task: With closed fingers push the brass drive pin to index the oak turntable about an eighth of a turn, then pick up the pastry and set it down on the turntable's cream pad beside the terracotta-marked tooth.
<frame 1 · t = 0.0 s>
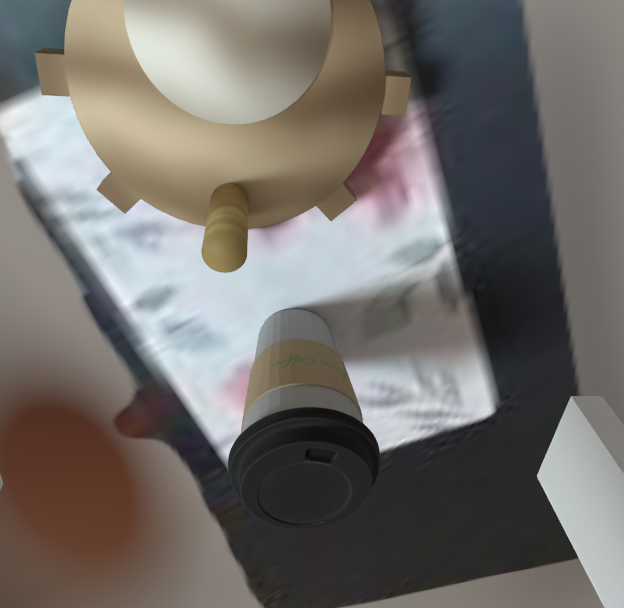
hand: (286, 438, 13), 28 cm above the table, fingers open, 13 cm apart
turntable: (227, 97, 30), point 6 cm above the table, hinge at 0.0°
coffee cup: (293, 337, 46), on the table
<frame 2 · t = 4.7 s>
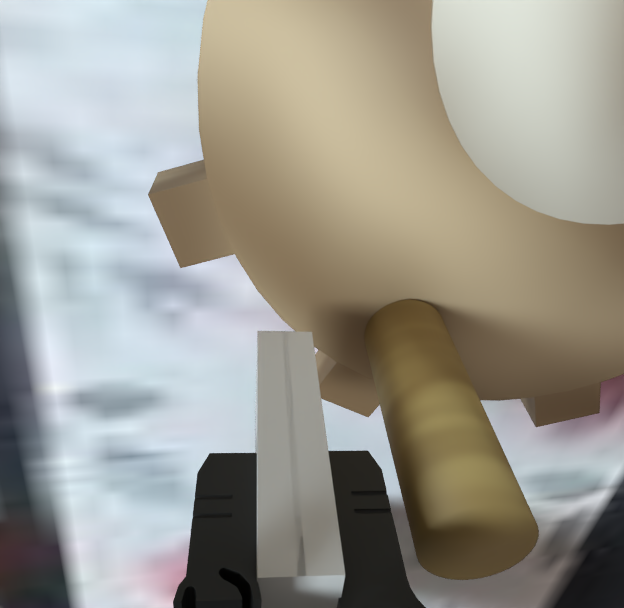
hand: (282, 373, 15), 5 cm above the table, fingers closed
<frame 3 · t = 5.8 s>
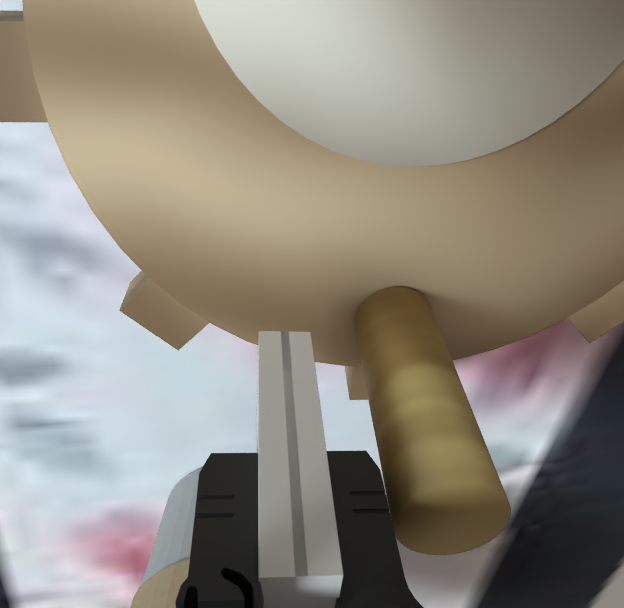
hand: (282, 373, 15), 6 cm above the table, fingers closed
turntable: (450, 110, 11), point 6 cm above the table, hinge at 30.7°, touching gripper
coffee cup: (230, 500, 27), on the table
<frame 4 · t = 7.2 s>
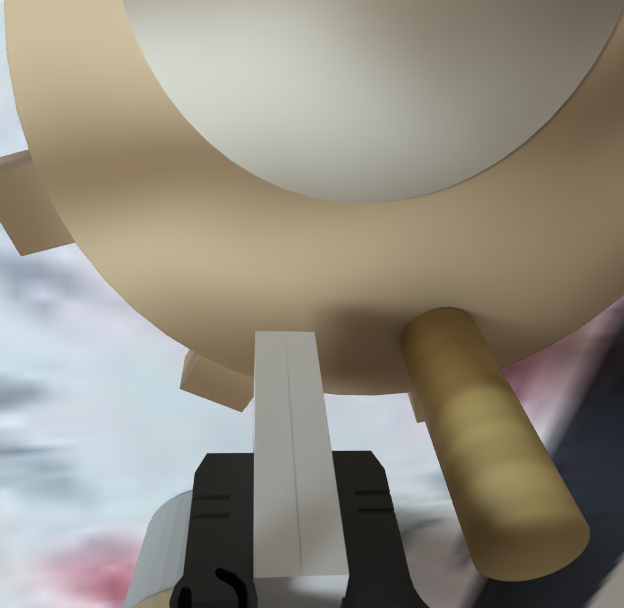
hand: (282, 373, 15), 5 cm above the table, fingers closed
turntable: (435, 148, 11), point 6 cm above the table, hinge at 46.4°
coffee cup: (212, 526, 26), on the table
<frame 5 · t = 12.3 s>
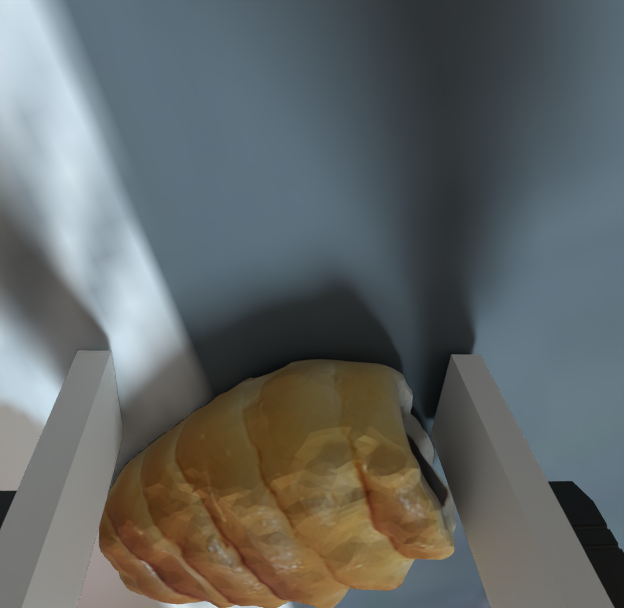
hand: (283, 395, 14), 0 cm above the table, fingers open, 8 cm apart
pastry: (289, 451, 16), on the table, touching gripper
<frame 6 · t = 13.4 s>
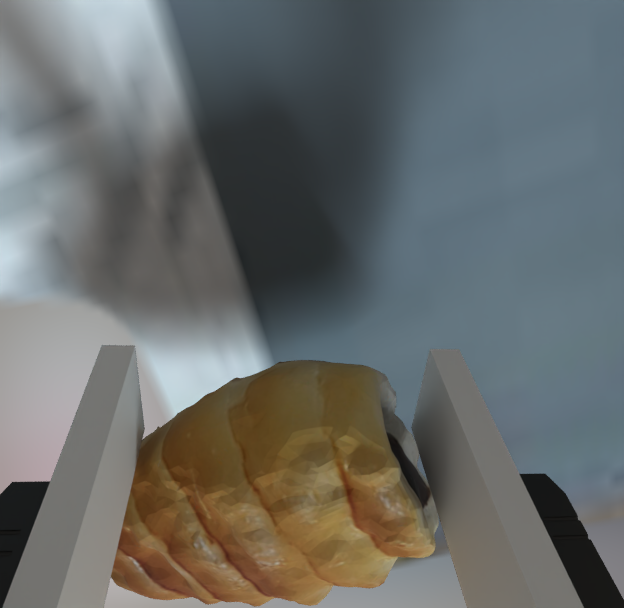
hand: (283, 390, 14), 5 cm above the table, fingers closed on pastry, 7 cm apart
pastry: (277, 450, 16), point 4 cm above the table, touching gripper
when the fingers open (5 cm above the table, at t = 18.1 s): pastry drops 1 cm, resting on turntable.
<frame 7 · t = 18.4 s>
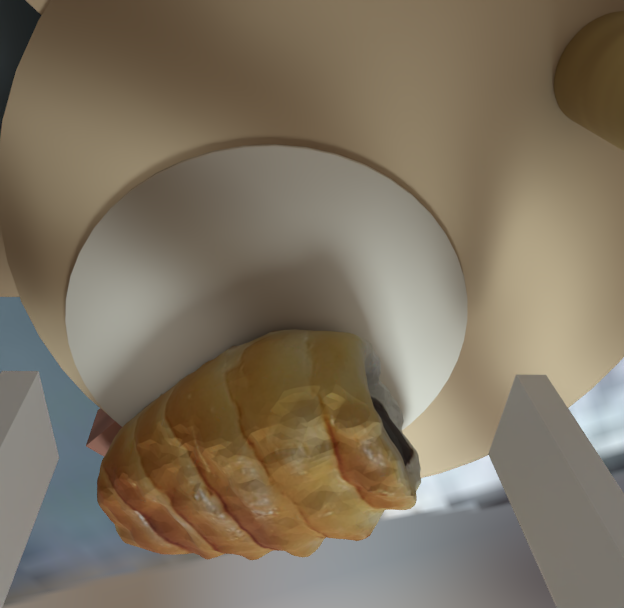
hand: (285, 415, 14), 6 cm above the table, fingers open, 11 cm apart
turntable: (383, 320, 13), point 6 cm above the table, hinge at 46.5°, touching pastry
pastry: (272, 417, 18), point 3 cm above the table, touching turntable
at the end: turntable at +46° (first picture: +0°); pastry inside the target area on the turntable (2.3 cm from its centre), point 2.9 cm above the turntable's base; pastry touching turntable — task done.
